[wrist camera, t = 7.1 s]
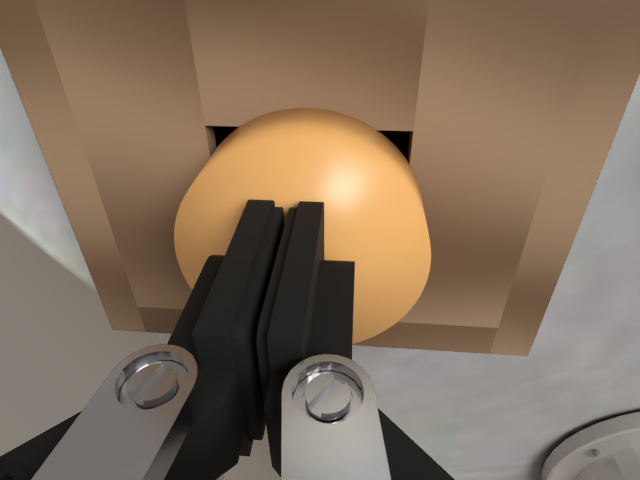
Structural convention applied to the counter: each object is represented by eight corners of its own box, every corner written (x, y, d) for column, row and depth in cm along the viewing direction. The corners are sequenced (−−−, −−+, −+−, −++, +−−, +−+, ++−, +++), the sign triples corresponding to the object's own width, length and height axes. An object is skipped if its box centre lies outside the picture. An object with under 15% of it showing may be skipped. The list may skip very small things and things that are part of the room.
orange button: (401, 229, 17) (414, 355, 12) (245, 223, 17) (197, 341, 12) (421, 64, 13) (451, 147, 9) (224, 61, 14) (147, 138, 9)
